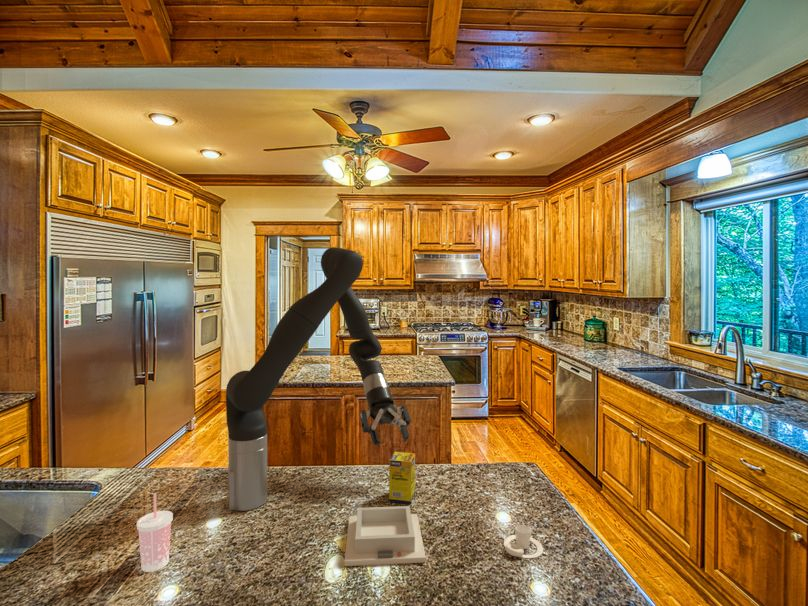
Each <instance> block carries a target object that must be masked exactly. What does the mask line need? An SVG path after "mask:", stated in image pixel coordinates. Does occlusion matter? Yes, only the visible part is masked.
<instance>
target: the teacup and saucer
mask: <svg viewBox="0 0 808 606" xmlns="http://www.w3.org/2000/svg"><path fill="white" fill-rule="evenodd" d="M514 527H515V534H512V535H508V536H507V537H505V539H504V541H503V546H504V548H505V551H506V552H507V553H508V554H509V555H511V556H513V557H518V558H523V559H536V558H538V557H540V556H541V555H543V552H544V548H543V545H542V544H541V543H540V542H539V541H538V540H537V539H536V538H533V537H532V532H533V529H532V528H531V526H528V525H524V524H518V525H516V526H514ZM513 540H515V543H514V542H511V541H513ZM530 542H532V544H534V545H535V546H536V548H537V550H536V552H534V553H532V554H524V553H525V551H524V550H527V549H528V548H529V546H530Z"/></svg>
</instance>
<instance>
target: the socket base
mask: <svg viewBox="0 0 808 606" xmlns="http://www.w3.org/2000/svg"><path fill="white" fill-rule="evenodd" d="M421 531H422V530H421V527H420V521H419V517H418V513H411V507H410V505H405V506H404V505H401V506H400V505H398V506H397V505H396V506H378V507H377V506H373V507H372V506H371V507H357V512H356V515H350V516H349V517H348V527H347V535H346V544H345V553H344V565H343V566H344V567H354V566H356V567H357V566H374V565H375V566H376V565H377V566H378V565H379V566H380V565H381V566H382V565H399V564H401V565H402V564H418V563H419V564H420V563H421V564H422V563H426V561H427V559H426V558H427V557H426V552H425V548H424V542H423V538H422V537H423V536H422V532H421Z"/></svg>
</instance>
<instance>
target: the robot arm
mask: <svg viewBox="0 0 808 606" xmlns="http://www.w3.org/2000/svg"><path fill="white" fill-rule="evenodd" d="M363 265H364V260H363V257H362V256H361V254H360V253H359V252H357V251H355V250H351V249H346V248H341V247H336V246H335V247H329V248H327V249H325V251H323V253H322V255H321V258H320V266H321V267H320V268H321V271H322V273H323V274H324V276H325V277H324V278H326V279H325V280H324V281H323V282H322V283H321V284H320V285H319V286H318V287H317V288H315V289H314V290H312V291H311V292H309V293H307V294H306V295H303V296H302V297H301V298H299V299H298V300H296V301H295V302H293V304H292V305H290V307H289V308H288V309H287V310H286V312H285V313H284V315H283V316H282V318H281V319H280V320H279V321H278V323H277V325H276V326H275V328H274V329H273V333H272V335H271V337H270V339H269V342H268V344H267V347H266V348H265V350H264V352H263V354H262V355H261V356H260V357H259V359H258V360H257V362H256V363H255V364H254V365H253V366H252V367H251V369H250V370H241V371H239V372H236V373H234V374H233V375H232V377H230V379H229V381H228V382H227V384H226V389H225V390H226V391H225V410H226V411H225V413H226V426H227V431H228V434H227V435H228V464H227V465H228V466H227V469H228V471H227V476H228V479H227V480H228V484H227V485H228V487H227V488H228V489H227V490H228V511H229V512H231V511H239V512H243V511H246V512H247V511H250V510H255V509H257V508H259V507H261V506H262V505H264V504H265V503H267V500H268V423H267V420H266V416H265V410H264V407H265V405H266V404H267V402H268V401H269V400H270V398H271V396H272V394H273V393H274V391H275V389H276V387H277V385H278V384H279V382H280V381H281V378H283V376H284V374H285V372H286V371H287V370H288V368H289V366H290V365H292V362H293V361H295V359H296V357H297V356H298V355H299V354H300V352H301V351H302V350H303V348H304V347H305V346H306V345H307V343H308V341H309V340H310V339H311V338H312V337H313V335H314V333H315V332H316V331H317V329H318V328H319V326H320V325H321V324H322V322H323V321H324V319H325V318H326V317H327V316H328V314H329V313H330V311H331V310H332V309H333V308H334V306H335V305H336V304H337V303H338V306H339V307H340V310H341V312H342V315H343V318H344V321H345V324H346V327H347V332H348V334H349V336H350V338H351V339H353V340H355V341H352V342H351V343H350V344H349V346H348V354H349V356H350V358H351V360H352V361H353V362H354V363H355V365H356V367H357V368H358V370H359V372H360V373H359V374H360V377H361V380H362V385H363V390H364V391H363V392H364V396H365V398H366V402H367V406H368V409H369V410H365V409H362V410H361V412H360V414H359V419H360V423H361V428H362V432H363V434H366V433H369V435H370V438H371V442H372V444H373V445H375V447H377V446H380V443H381V441H380V437H379V433H378V430H377V429H376V428H377V426H378V424H379V425H380V426H381V425H385V424H387V425H389V424H391V423H392V424H393V425H394V426H396V427H398V429H399V430H400V434H401V437H402V440H403V442H408V440H409V438H410V434H409V430H408V428H409V427H410V424H411V423H412V419H411V417H410V416H411V415H409V412H408V409H407V406H406V405H405V404H402V405H401V406H398V407H397V406H396V405H395V403H394V398H393V395H392V392H391V388H390V386H389V383H388V380H387V378H386V376H385V373H384V370H383V366H382V364H381V362H380V361H379V360H376V359H374V358H377V357H380V355H381V354H382V345H381V343H380V341H379V339H378V338H377V336H376V335H375V333H374V332H373V330H372V327H371V326H370V325H371V324H370V322H369V317H368V313H367V311H366V308H365V307H364V305H363V303H362V302H361V300H360V298H359V297H358V296H357V294H356V293H355V291H354V290H353V288H352V286H353V284H355V282H356V281H357V279H358V278H359V277H360V276H361V273H362V270H363ZM369 417H370V418H371V419H372V420H374V421H373V423H372V425H371V426H370V425H369V420H368V418H369Z"/></svg>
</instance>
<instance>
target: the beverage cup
mask: <svg viewBox="0 0 808 606" xmlns="http://www.w3.org/2000/svg"><path fill="white" fill-rule="evenodd" d="M173 519H174V513H173V512H172V511H170V510H157V492H154V493H153V511H152V512H150V513H148V514H147V513H146V514H145V515H143V516H141V517H140V518H139V519H138V520H137V521H136V529H137V531H138V541H139V554H140V564H141V570H142V571H143V572H146V573H152V572H156V571H159V570H162V568H164V567H165V566H167V565H168V563H169V561H170V548H171V547H170V546H171V531H172V529H171V528H172V522H173Z"/></svg>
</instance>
